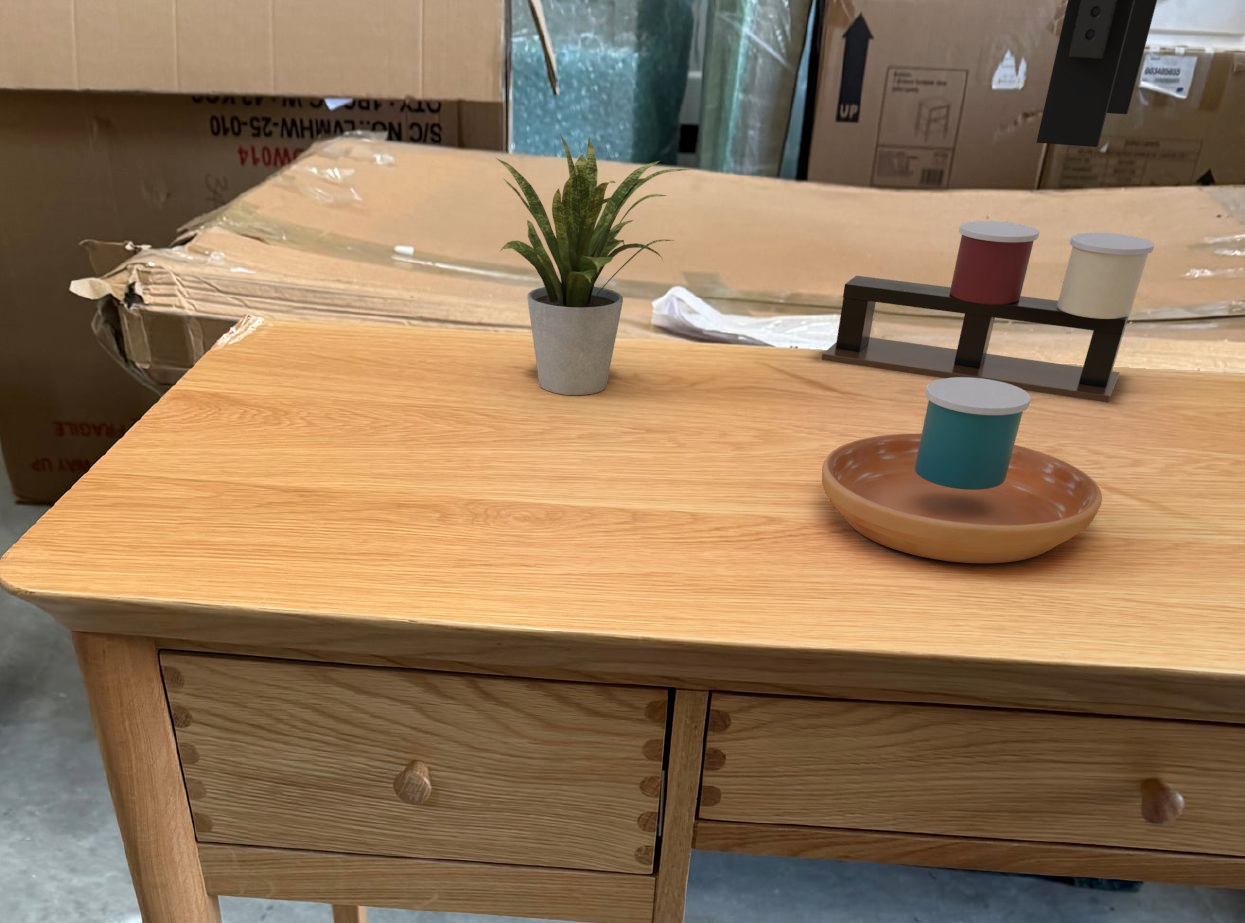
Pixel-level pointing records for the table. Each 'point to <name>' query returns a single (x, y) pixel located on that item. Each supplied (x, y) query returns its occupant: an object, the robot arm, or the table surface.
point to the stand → (974, 340)
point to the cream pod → (1103, 275)
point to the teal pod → (969, 432)
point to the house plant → (576, 275)
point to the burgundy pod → (992, 262)
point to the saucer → (958, 503)
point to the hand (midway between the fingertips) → (1085, 127)
